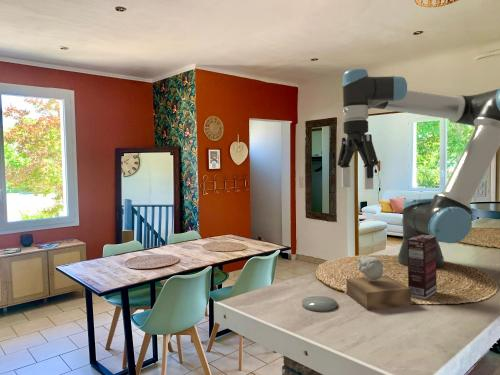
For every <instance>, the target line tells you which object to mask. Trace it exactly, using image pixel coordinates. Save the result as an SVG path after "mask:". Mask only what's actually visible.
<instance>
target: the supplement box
mask: <svg viewBox="0 0 500 375" xmlns="http://www.w3.org/2000/svg"><path fill="white" fill-rule="evenodd" d="M407 240H408V266H407V271H408V272H407V279H408V280H407V282H408V283H407V284H408V285H407V287H409V288H411V298H416V299H420V300H427V299H428V298H430V297H431V296H433V295H434V294H435V293H437V290H438V288H437V267H436V236H431V235H418V236H415V237H412V238H410V239H407Z"/></svg>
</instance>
